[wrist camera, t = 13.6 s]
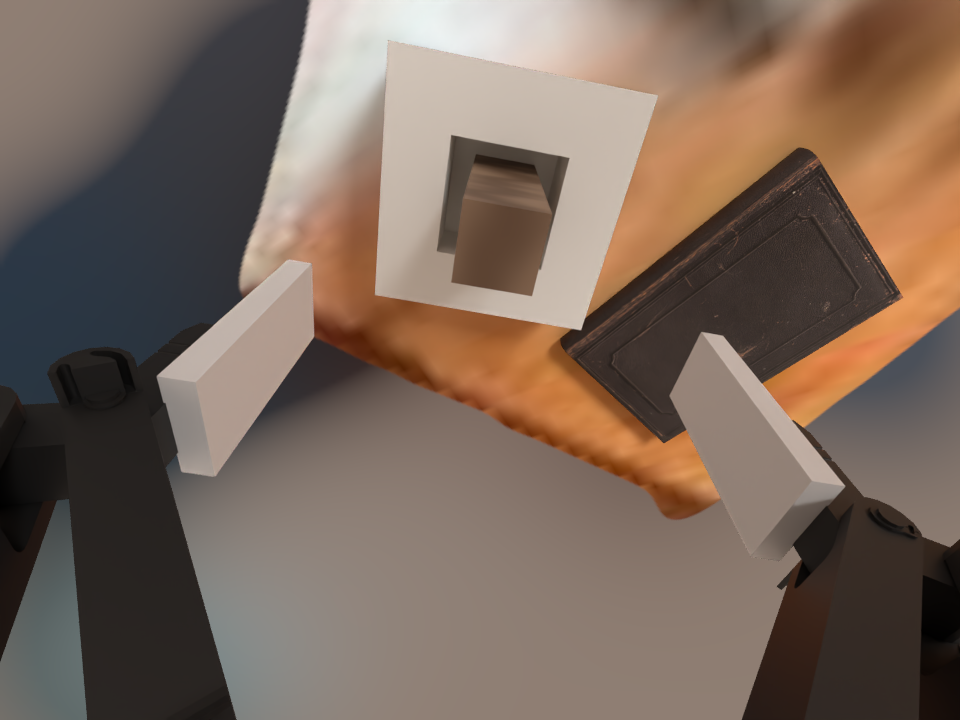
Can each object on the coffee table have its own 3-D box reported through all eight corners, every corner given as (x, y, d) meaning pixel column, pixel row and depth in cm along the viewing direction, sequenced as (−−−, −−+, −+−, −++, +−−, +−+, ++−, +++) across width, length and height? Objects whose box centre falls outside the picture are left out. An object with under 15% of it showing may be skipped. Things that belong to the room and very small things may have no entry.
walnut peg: (534, 164, 34) (552, 214, 22) (521, 223, 36) (532, 296, 25) (476, 154, 34) (463, 198, 22) (467, 213, 36) (451, 282, 24)
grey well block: (633, 91, 32) (658, 95, 27) (570, 297, 41) (581, 330, 36) (406, 45, 31) (388, 40, 26) (391, 266, 40) (374, 295, 35)
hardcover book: (883, 286, 40) (903, 297, 38) (657, 428, 49) (664, 443, 47) (795, 145, 34) (813, 149, 32) (558, 336, 43) (561, 348, 41)
